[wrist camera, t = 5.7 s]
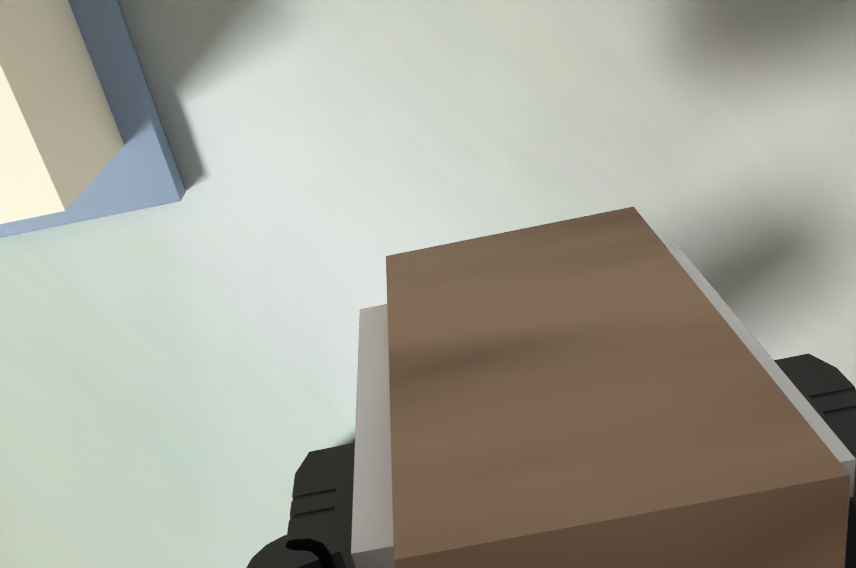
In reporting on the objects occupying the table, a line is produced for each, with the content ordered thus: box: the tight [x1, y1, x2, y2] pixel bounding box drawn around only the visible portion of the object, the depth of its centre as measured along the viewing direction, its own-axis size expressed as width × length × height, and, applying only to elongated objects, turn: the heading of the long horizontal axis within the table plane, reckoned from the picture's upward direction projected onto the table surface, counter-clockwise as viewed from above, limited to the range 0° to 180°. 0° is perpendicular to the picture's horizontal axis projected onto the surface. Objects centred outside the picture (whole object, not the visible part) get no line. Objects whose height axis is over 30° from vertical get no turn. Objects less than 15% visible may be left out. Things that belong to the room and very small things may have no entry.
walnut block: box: [386, 207, 850, 568], centre depth 13 cm, size 5×5×8 cm
